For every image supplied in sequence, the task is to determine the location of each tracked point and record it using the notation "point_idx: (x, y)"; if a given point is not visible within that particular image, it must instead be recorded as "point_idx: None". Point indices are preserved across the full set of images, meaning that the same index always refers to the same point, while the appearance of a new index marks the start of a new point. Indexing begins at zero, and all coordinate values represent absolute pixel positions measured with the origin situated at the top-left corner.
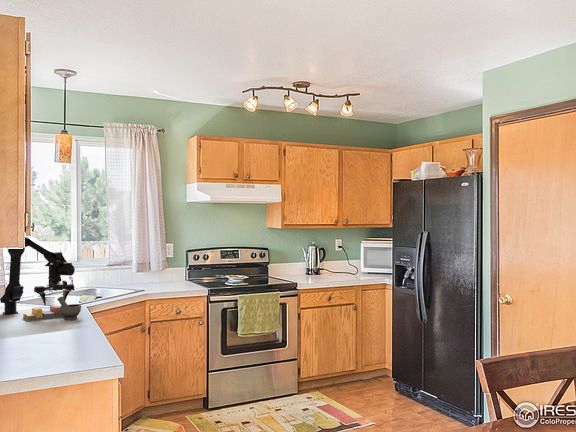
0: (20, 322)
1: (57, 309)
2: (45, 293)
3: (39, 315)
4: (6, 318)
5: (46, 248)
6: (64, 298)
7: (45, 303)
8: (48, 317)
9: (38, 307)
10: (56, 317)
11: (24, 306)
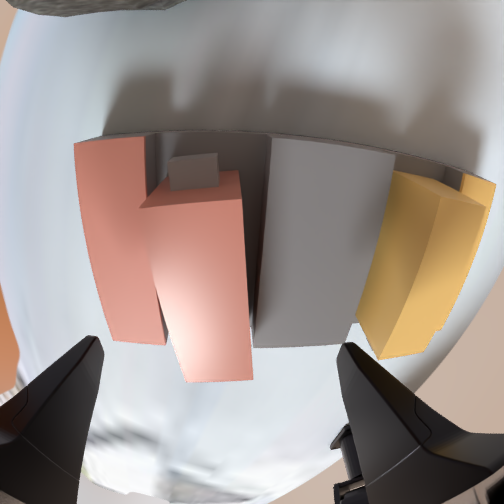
0: (498, 170)
1: (216, 192)
2: (484, 468)
3: (421, 179)
4: (450, 345)
5: None
6: (55, 385)
7: (360, 358)
8: (334, 141)
9: (382, 352)
10: (244, 132)
11: (255, 482)
